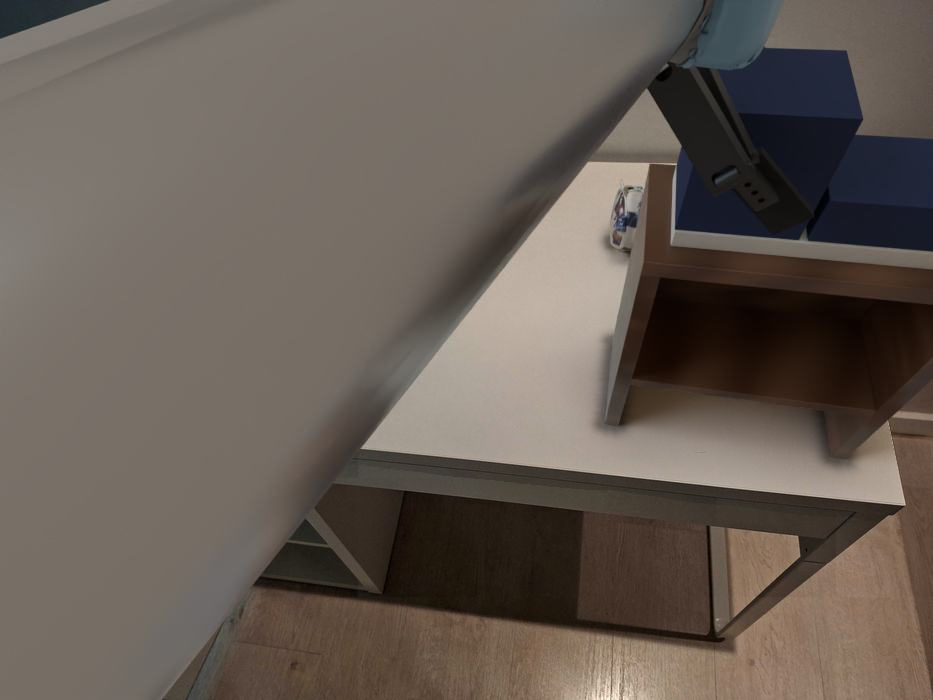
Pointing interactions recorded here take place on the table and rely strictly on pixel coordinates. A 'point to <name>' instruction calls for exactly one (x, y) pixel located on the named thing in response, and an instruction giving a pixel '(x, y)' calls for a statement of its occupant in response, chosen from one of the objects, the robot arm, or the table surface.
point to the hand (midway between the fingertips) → (784, 157)
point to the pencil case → (625, 216)
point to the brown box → (769, 328)
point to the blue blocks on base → (815, 170)
